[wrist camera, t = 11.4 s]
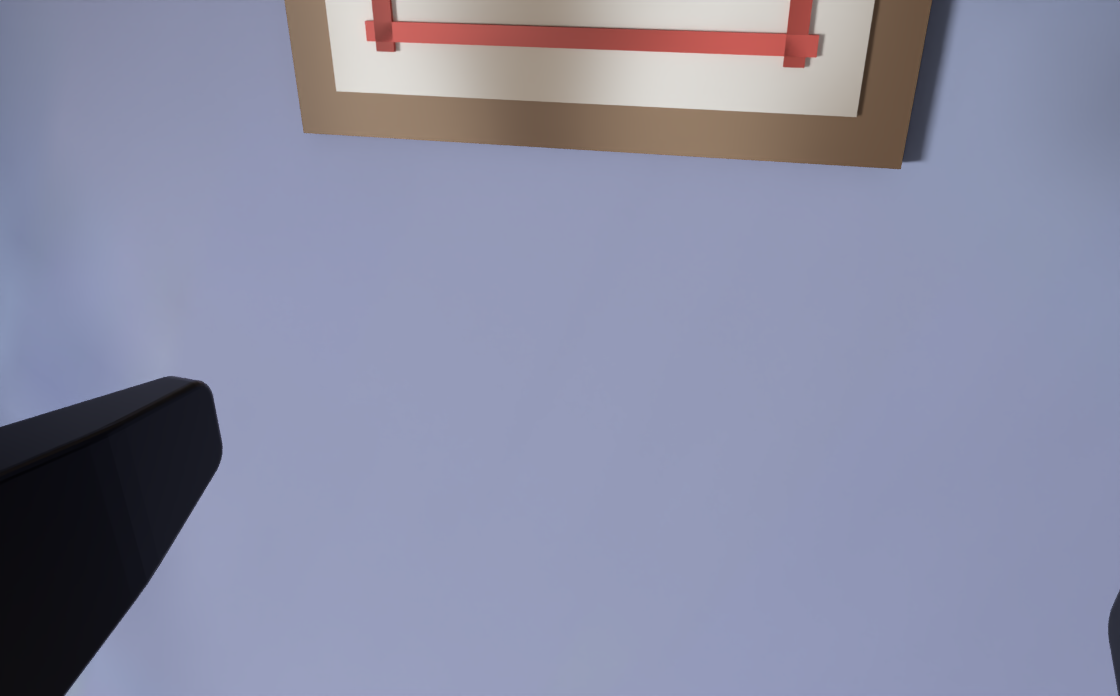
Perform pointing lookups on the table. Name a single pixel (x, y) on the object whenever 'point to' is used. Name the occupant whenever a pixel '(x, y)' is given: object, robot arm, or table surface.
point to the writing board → (618, 74)
